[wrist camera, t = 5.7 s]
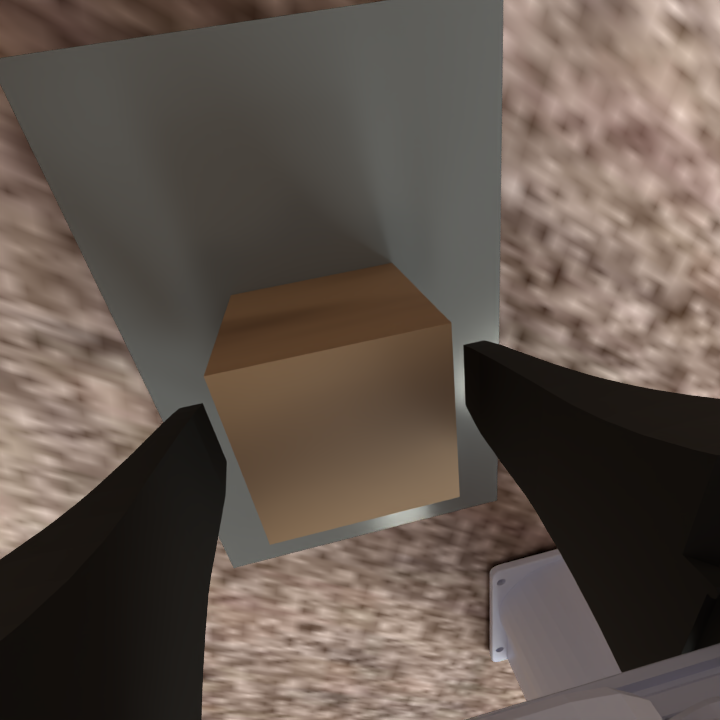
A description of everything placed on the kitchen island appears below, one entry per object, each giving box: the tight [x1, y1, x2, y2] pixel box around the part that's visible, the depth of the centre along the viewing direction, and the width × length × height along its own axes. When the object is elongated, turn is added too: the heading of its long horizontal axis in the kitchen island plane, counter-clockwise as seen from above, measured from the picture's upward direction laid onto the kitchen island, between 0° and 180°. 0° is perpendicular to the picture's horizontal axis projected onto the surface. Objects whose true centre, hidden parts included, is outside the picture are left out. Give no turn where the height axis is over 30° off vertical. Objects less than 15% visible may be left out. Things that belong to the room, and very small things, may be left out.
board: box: [0, 0, 503, 568], centre depth 14 cm, size 18×12×1 cm, turn 9°
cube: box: [204, 263, 460, 545], centre depth 11 cm, size 5×5×5 cm
